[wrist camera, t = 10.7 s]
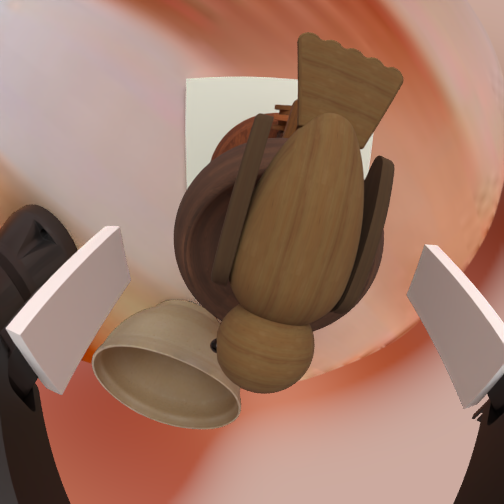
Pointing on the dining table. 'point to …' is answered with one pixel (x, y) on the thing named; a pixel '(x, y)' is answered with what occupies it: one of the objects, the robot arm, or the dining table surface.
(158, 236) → the dining table surface
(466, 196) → the dining table surface
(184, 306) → the planter bowl
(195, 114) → the board
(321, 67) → the music box
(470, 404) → the robot arm
